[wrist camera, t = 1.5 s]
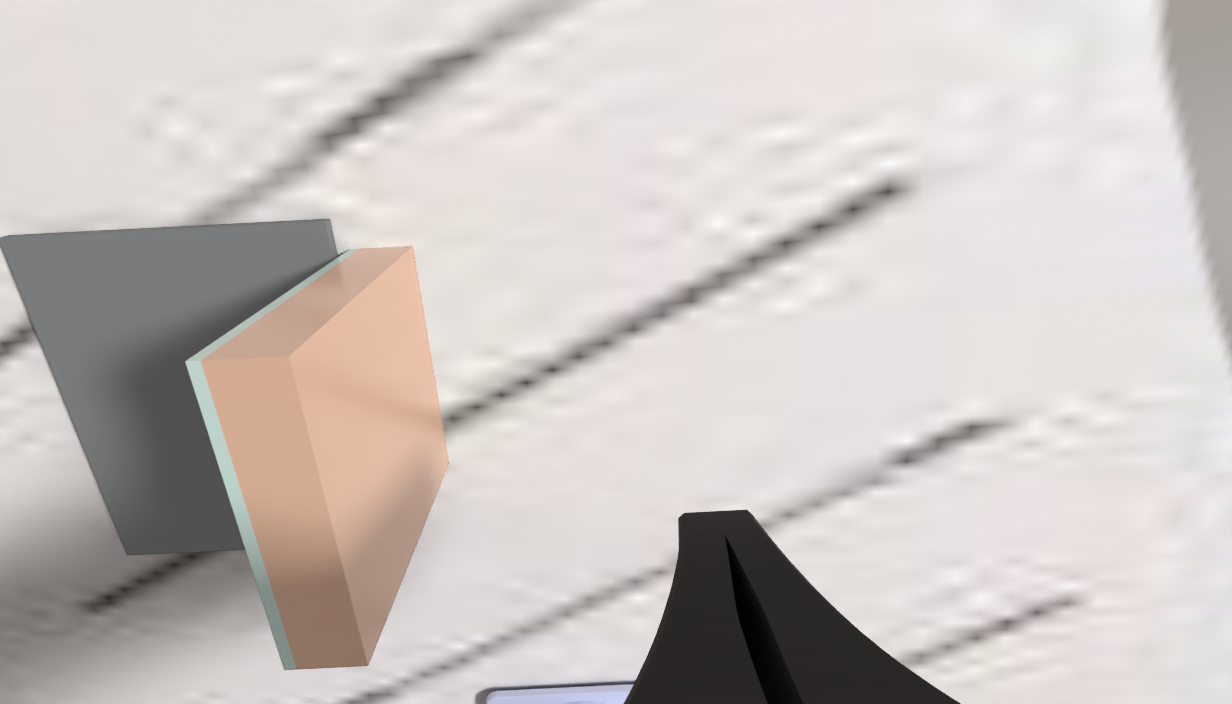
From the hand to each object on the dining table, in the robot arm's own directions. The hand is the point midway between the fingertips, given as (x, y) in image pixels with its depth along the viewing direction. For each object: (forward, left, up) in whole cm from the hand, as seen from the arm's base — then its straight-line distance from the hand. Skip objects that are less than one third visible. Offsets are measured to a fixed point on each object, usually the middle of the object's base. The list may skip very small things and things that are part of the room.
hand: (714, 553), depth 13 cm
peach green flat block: (0, +9, -10) cm, 14 cm away
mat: (-1, +15, -10) cm, 19 cm away
